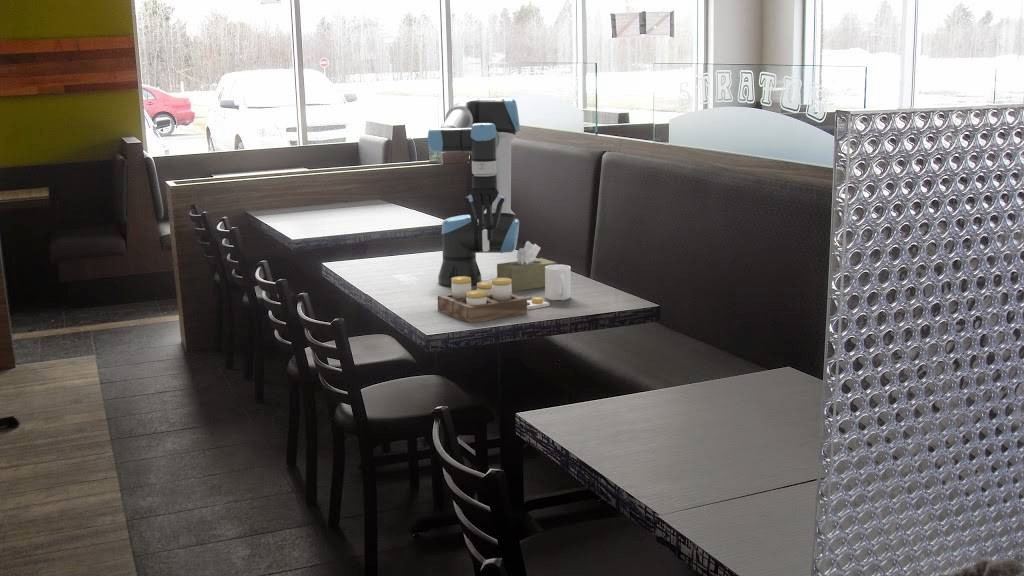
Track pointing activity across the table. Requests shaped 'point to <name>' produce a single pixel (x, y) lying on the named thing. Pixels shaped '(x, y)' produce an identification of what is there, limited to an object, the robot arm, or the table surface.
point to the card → (535, 302)
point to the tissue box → (525, 269)
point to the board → (482, 308)
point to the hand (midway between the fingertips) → (486, 250)
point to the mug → (557, 282)
